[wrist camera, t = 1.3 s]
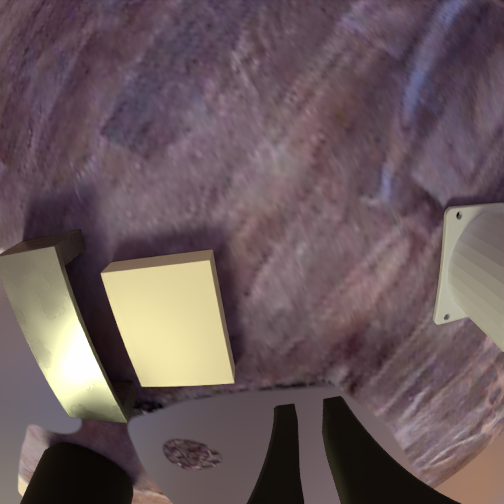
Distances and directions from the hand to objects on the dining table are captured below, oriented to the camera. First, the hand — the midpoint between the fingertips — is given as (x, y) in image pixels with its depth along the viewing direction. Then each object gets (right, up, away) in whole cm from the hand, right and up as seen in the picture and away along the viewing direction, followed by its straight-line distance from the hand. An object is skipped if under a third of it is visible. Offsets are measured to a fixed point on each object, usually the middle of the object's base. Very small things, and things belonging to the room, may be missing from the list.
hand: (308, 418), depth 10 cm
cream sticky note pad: (-7, +2, +8) cm, 11 cm away
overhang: (-14, +1, +8) cm, 16 cm away
